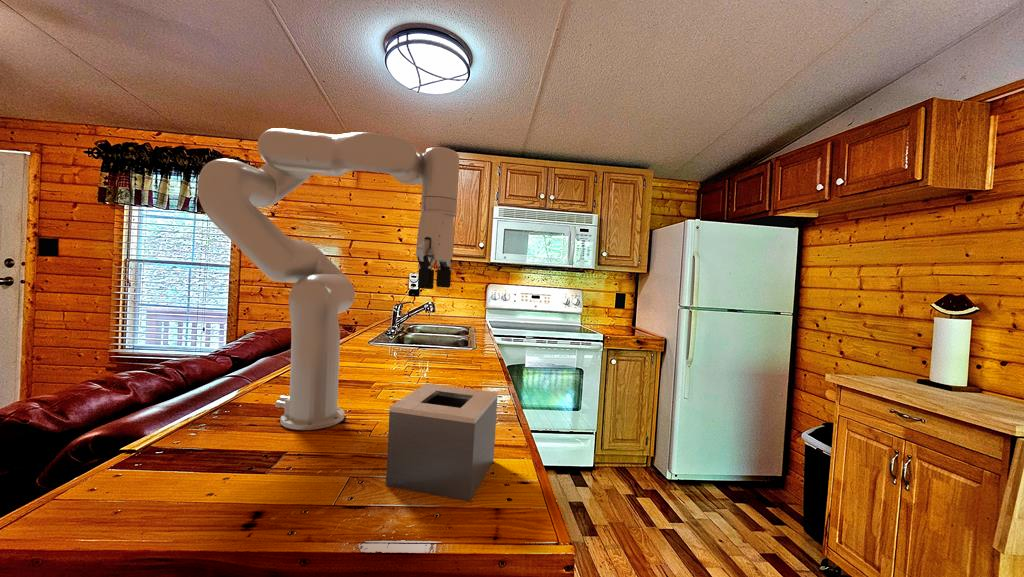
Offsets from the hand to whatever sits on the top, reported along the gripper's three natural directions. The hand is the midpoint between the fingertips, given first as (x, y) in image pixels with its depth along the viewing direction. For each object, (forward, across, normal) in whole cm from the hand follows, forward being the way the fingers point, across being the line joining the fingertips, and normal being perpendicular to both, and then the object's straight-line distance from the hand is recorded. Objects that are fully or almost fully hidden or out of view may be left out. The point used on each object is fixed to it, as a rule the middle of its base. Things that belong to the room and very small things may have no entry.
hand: (434, 287), depth 91 cm
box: (+30, +18, +11) cm, 37 cm away
